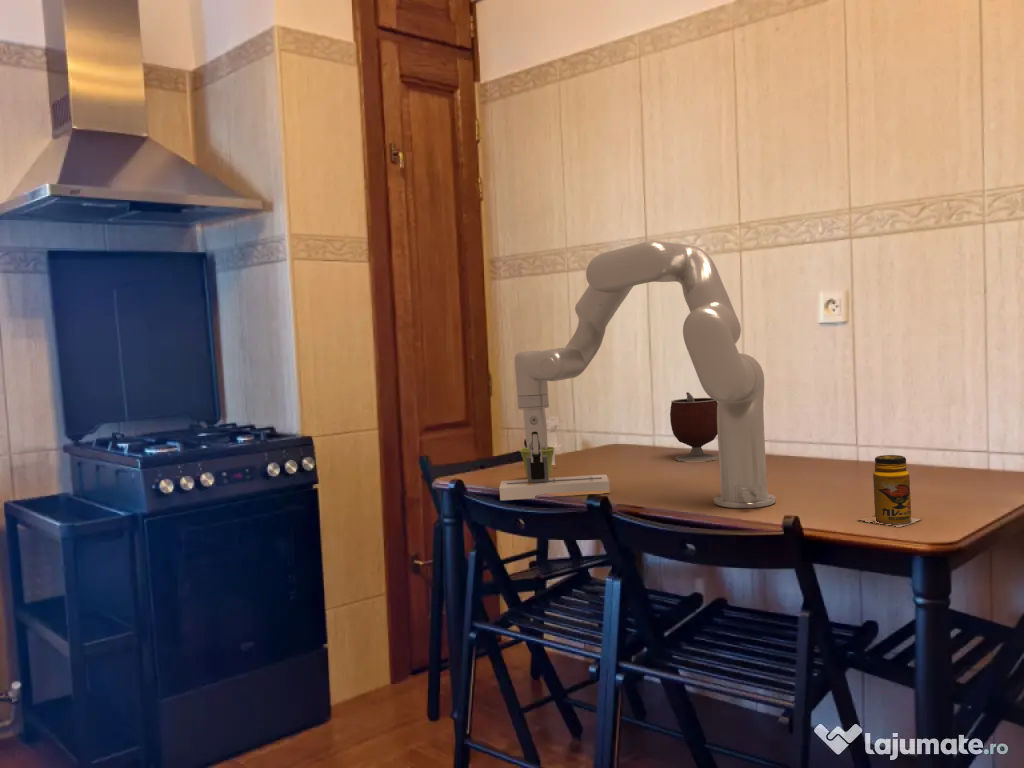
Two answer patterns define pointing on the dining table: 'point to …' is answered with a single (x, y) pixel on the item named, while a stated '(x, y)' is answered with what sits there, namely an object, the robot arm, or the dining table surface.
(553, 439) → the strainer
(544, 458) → the fader
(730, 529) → the dining table surface
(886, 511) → the condiment
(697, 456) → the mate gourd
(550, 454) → the plant pot
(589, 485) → the console
